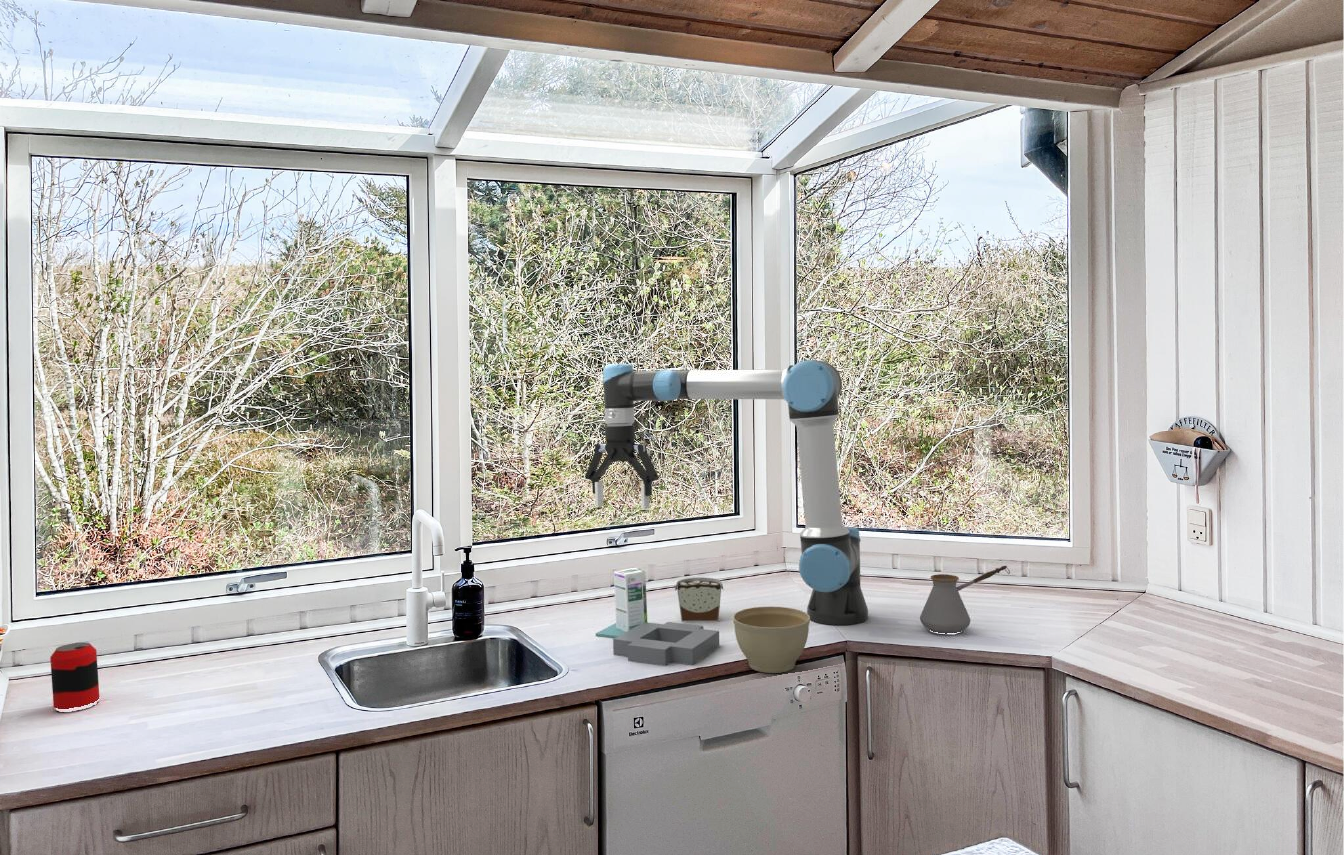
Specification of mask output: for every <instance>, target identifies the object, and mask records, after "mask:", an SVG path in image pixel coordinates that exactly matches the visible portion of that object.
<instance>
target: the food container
mask: <svg viewBox="0 0 1344 855" xmlns="http://www.w3.org/2000/svg"><path fill="white" fill-rule="evenodd" d="M724 590H725V589H724V586H723V583H722V581H721V580H720V579H718V578H713V577H705V576H704V577H688V578H683V579H679V580H677V582H676V584H675V587H674V591H677V596H678V597H677V598H678V606H679V612H680V613H679V614H680V619H681V622H686V623H691V622H692V623H695V622H696V623H697V622H698V623H699V622H701V623H702V622H705V623H709V622H713V623H714V622H715V623H717V622H720V608H721V598H722V597H721V596H722V591H724Z"/></svg>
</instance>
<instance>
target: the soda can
mask: <svg viewBox="0 0 1344 855" xmlns="http://www.w3.org/2000/svg"><path fill="white" fill-rule="evenodd" d="M97 653H98V652H97V649H96V648H95V647H94V646H93V645H92V644H91V643H90V642H87V641H86V642H83V641H82V642H74V643H68V644H64V645H63V644H62V645H61V646H58V647H56V648H55V650H54V651H53V652H52V654H51V656H50V657H49V658H50V671H51V673H50V674H51V675H50V676H51V687H52V701H53V702H52V704H53V708H54V707H55V708H58V709H69V708H74V707H81V706H84V705H88V704H90V703H94V702H95V701H97V700H98V699H99V697H100V685H99V684H100V683H99V669H98V654H97Z"/></svg>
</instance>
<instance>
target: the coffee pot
mask: <svg viewBox="0 0 1344 855" xmlns="http://www.w3.org/2000/svg"><path fill="white" fill-rule="evenodd" d="M1004 570H1005V572H1006V573H1007V574H1008V575H1009V574H1011V570H1010V569H1009V568H1008V566H1007V565H1002V566H1000V567H996V568H995V569H994V570H991V571H987V572H985V573H983V574H982V575H979V576H977V577H976V578H974V579H972V580H969V581H968V582H965V583H963V584H961V585H957V582H958V581H959V579H960V577H959V576H957V575H954V574H948V573H947V574H946V573H945V574H943V573H942V574H933V575H931V576H930V579H931V581H932V585H933V586H932V587H931V588H932V589H931V590H930V592H929V594H928V598H927V599H926V602H925V604H924V606H923V609H922V611H921V614H920V616H919V620H920V623H921V624H922V625H923V627H924V628H926V629H927V630H928V629H929V630H931V631H933V632H938V633H945V634H947V633H957V632H961V631H962V632H963V631H965V630H967V628H969V626H970V624H971V618H970V614H969V613H968V609H967V608H966V606H965V604H964V601H963V600H962V597H961V595H960V592H959V591H961V590H963V589H965V588H967V587H969V586H971V585H973V584H977V583H979V582H981V581H984V580H987V579H988V578H992V577H993V576H994V575H995V574H1000V573H1001V571H1004Z"/></svg>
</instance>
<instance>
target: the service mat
mask: <svg viewBox="0 0 1344 855" xmlns="http://www.w3.org/2000/svg"><path fill="white" fill-rule="evenodd" d="M647 623H649V622H648V621H647ZM651 623H652V624H658V623H657V622H651ZM660 624H661V625H663V624H664V623H660ZM623 633H625V632H623V631H621V630H619V629H617V628H616V622H615V623H614V624H611V625H609V626H607V627H605V628H604V629H602V630H600V631H597V632H596V633H595V637H600V638H601V637H602V638H611V639H614V638H616V637H618V636H620V635H622V634H623Z"/></svg>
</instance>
